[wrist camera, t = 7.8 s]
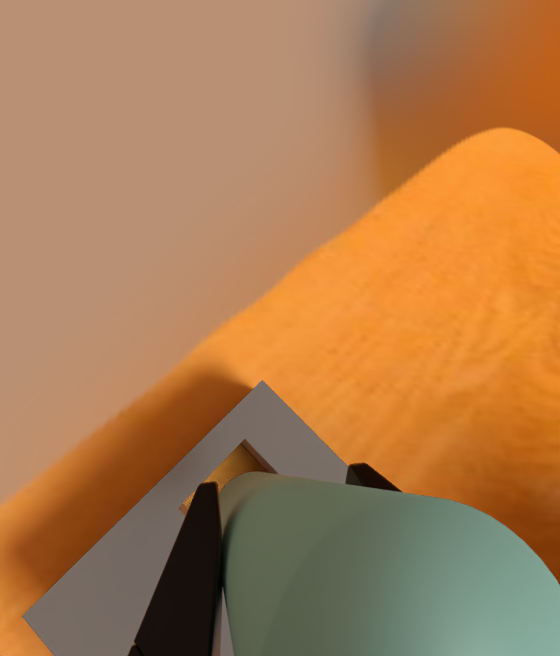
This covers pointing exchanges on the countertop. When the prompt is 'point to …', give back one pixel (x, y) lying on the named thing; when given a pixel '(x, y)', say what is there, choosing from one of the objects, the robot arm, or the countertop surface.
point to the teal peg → (377, 574)
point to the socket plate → (169, 531)
